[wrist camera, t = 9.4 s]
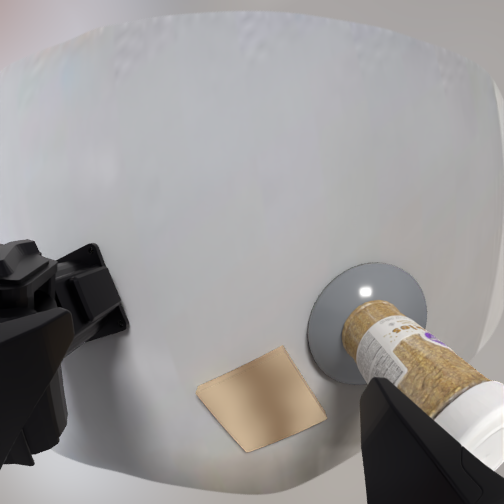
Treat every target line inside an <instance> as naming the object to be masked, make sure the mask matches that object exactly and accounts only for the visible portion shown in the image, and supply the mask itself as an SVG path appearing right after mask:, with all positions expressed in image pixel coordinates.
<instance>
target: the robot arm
mask: <svg viewBox="0 0 504 504" xmlns="http://www.w3.org/2000/svg"><path fill="white" fill-rule="evenodd" d="M91 247H92V248H93V250H94V252H93V253H92V252H91ZM120 301H121V300H120V297H119V295H118V293H117V290H116V288H115V285H114V283H113V280H112V278H111V275H110V273H109V270H108V268H107V267H106V266H105V264H104V261H103V258H102V255H101V253H100V250H99V247H98V245H97V244H95V243H91V244H87V245H85V246H83V247H81V248H79V249H77V250H76V251H74V252H72V253H70V254H68V255H66V256H64V257H62V258H60V259H58V260H56V261H55V260H52V259H48V258H45V257H43V256H41V252H39V250H38V248H37V246H36V244H35V242H34V241H31V240H28V239H27V240H20V241H13V242H9V243H7V244H5V245H3V244H0V469H1V467H2V465H3V464H20V465H27V466H33V465H34V464H35V463H34V460H33V458H32V454H37V453H40V452H43V451H46V450H49V449H51V448H52V447H54V446H55V445H56V444H58V443H59V437H60V436H61V434H62V432H63V430H64V429H65V427H66V425H67V416H68V412H67V406H66V400H65V394H64V387H63V379H62V370H61V362H62V360H63V358H65V357H66V356H67V355H68V354H70V353H71V352H72V351H74V350H75V349H76V348H78V347H79V346H80V345H82V344H83V343H84V342H87V341H91V340H94V339H97V338H101V337H104V336H107V335H110V334H114V333H117V332H120V331H123V330H125V329H126V328H127V327H128V325H129V322H128V319H127V317H126V315H125V313H124V310H123V308H122V306H121V303H120ZM119 321H122V322H123V326H122V325H121V324H120V322H119ZM360 420H361V449H362V457H363V466H364V474H365V484H366V493H367V504H504V478H503V477H501V476H500V475H499V474H497V473H496V472H495V471H493V470H492V469H491V468H489V467H488V466H486V465H485V464H484V463H483V462H481V461H480V460H479V459H478V458H476V457H475V456H474V455H473V454H472V453H470V452H469V451H468V450H467V449H466V448H465V447H464V446H462V445H461V444H460V443H459V442H458V441H457V440H456V439H455V438H453V437H452V436H451V435H450V434H449V433H448V432H447V431H446V430H444V429H443V428H442V427H441V426H440V425H439V424H438V423H437V422H435V421H434V420H433V419H432V418H431V417H430V416H429V415H427V414H426V413H425V412H424V411H423V410H422V409H421V408H420V407H418V406H417V405H416V404H415V403H414V402H413V401H412V400H411V399H409V398H408V397H407V396H406V395H405V394H404V393H403V392H402V391H400V390H399V389H398V388H397V387H396V386H395V385H394V384H393V383H391V382H390V381H389V380H388V379H387V378H385V377H373V378H372V379H371V380H370V382H369V383H368V385H367V387H366V389H365V391H364V392H363V394H362V396H361V399H360Z"/></svg>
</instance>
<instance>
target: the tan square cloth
mask: <svg viewBox="0 0 504 504" xmlns="http://www.w3.org/2000/svg"><path fill="white" fill-rule="evenodd" d="M196 395H197V396H198V397H199V398H200V400H201V401H202V402H203V403H204V404H205V406H206V407H207V408H208V409H209V411H210V412H211V413H212V414H213V415H214V417H215V418H216V419H217V420H218V421H219V422H220V424H221V425H222V426H223V427H224V428H225V429H226V430H227V432H228V433H229V434H230V435H231V436H232V437H233V438H234V439H235V441H236V442H237V443H238V444H239V445H240V446H241V447H242V448H243V449H244V450H245V451H246V452H247V453H248V452H251V451H253V450H256V449H259V448H261V447H264V446H267V445H269V444H272V443H274V442H277V441H279V440H282V439H284V438H287V437H289V436H291V435H294V434H296V433H298V432H301V431H303V430H305V429H307V428H309V427H312V426H314V425H316V424H318V423H320V422H322V421H324V420H326V419H327V416H326V413H325V411H324V409H323V408H322V406H321V404H320V403H319V401H318V400H317V398H316V397H315V395H314V394H313V392H312V391H311V389H310V387H309V386H308V384H307V383H306V381H305V380H304V378H303V376H302V375H301V373H300V372H299V370H298V369H297V367H296V365H295V364H294V362H293V361H292V359H291V358H290V356H289V354H288V353H287V351H286V350H285V348H284V346H283V345H282V346H281V347H279V348H277V349H275V350H273V351H271V352H269V353H267V354H265V355H263V356H261V357H259V358H257V359H255V360H253V361H251V362H249V363H247V364H245V365H243V366H241V367H239V368H237V369H235V370H233V371H231V372H228V373H226V374H224V375H222V376H220V377H218V378H216V379H213V380H211V381H209V382H207V383H204V384H202V385H200V386H198V388H197V391H196Z"/></svg>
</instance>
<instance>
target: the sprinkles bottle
mask: <svg viewBox="0 0 504 504" xmlns="http://www.w3.org/2000/svg"><path fill="white" fill-rule="evenodd" d="M342 342H343V346H344V348H345V349H346V351H347V353H348V354H349V355H350V356H351V357H352V358H353V359H354V361H355V362H356V364H357V366H358V369H359V371H360V373H361V374H362V376H363V378H364V379H365V381H366V383H367V384H368V383H369V382H370V380H371V379H372V378H373V377H385V378H387V379H388V380H389V381H390V382H391V383H393V384H394V385H395V386H396V387H397V388H398V389H399V390H400V391H402V392H403V393H404V394H405V395H406V396H407V397H408V398H409V399H411V400H412V401H413V402H414V403H415V404H416V405H417V406H418V407H420V408H421V409H422V410H423V411H424V412H425V413H426V414H427V415H429V416H430V417H431V418H432V419H433V420H434V421H435V422H437V423H438V424H439V425H440V426H441V427H442V428H443V429H444V430H446V431H447V432H448V433H449V434H450V435H451V436H452V437H453V438H455V439H456V440H457V441H458V442H459V443H460V444H461V445H462V446H464V447H465V448H466V449H467V450H468V451H469V452H470V453H472V454H473V455H474V456H475V457H476V458H478V459H479V460H480V461H481V462H483V463H484V464H485V465H486V466H488V467H489V468H491V469H492V470H493V471H495V470H496V469H497V468H498V467H499V466H500V465H501V464H502V463H503V462H504V384H502V383H501V382H497V381H491V380H489V379H487V378H485V377H484V376H483V375H482V374H480V373H479V372H477V370H476V369H474V368H473V367H472V366H470V365H469V364H468V363H467V362H465V361H464V360H463V359H462V358H460V357H459V356H457V355H456V354H455V353H454V351H453V350H451V349H450V348H449V347H448V346H446V345H445V344H444V343H442V342H441V341H439V340H438V339H437V338H436V337H434V336H433V335H432V334H430V333H429V332H428V331H426V330H425V329H424V328H422V327H421V326H420V325H419V324H417V323H416V322H415V321H413V320H412V319H410V318H408V317H406V316H405V315H404V314H402V313H400V312H399V310H398V309H397V308H396V307H395V306H394V305H393V304H391V303H389V302H387V301H383V300H374V301H369V302H365V303H363V304H362V305H360V306H358V307H357V308H356V309H355V310H354V311H353V312H352V313H351V314H350V315H349V317H348V318H347V320H346V321H345V323H344V328H343V331H342Z"/></svg>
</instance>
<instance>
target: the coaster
mask: <svg viewBox="0 0 504 504" xmlns="http://www.w3.org/2000/svg"><path fill="white" fill-rule="evenodd" d="M374 300H383V301H387V302H389V303H391V304H393V305H394V306H395V307H396V308H397V309H398V310H399V312H400V313H402V314H404V315H405V316H406V317H408V318H410V319H412V320H413V321H415V322H416V323H417V324H419V325H420V326H421V327H422V328H424V329H425V327H426V321H427V306H426V301H425V297H424V294H423V291H422V289H421V287H420V286H419V284H418V283H417V281H416V280H415V279H414V278H413V277H412V276H411V275H410V274H409V273H407V272H406V271H404V270H403V269H400V268H398V267H396V266H393V265H390V264H386V263H378V262H376V263H366V264H361V265H358V266H355V267H352V268H350V269H348V270H346V271H344V272H343V273H341V274H340V275H338V276H337V277H336V278H334V279H333V280H332V281H331V282H330V283H329V284H328V285H327V286H326V287H325V288H324V290H323V291H322V292H321V294H320V295H319V297H318V298H317V300H316V302H315V304H314V306H313V308H312V311H311V314H310V318H309V323H308V343H309V347H310V350H311V353H312V355H313V358H314V360H315V362H316V363H317V365H318V366H319V367H320V369H321V370H322V371H323V372H324V373H325V374H327V375H328V376H329V377H331V378H333V379H334V380H337V381H339V382H342V383H346V384H353V385H363V384H367V383H366V381H365V379H364V378H363V376H362V374H361V373H360V371H359V369H358V366H357V364H356V362H355V361H354V359H353V358H352V357H351V356H350V355H349V354H348V353H347V351H346V349H345V348H344V346H343V342H342V331H343V328H344V323H345V321H346V320H347V318H348V317H349V315H350V314H351V313H352V312H353V311H354V310H355V309H356V308H357V307H358V306H360V305H362V304H363V303H365V302H369V301H374Z"/></svg>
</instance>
